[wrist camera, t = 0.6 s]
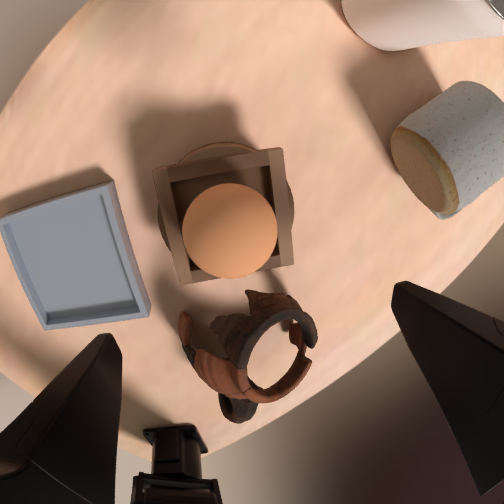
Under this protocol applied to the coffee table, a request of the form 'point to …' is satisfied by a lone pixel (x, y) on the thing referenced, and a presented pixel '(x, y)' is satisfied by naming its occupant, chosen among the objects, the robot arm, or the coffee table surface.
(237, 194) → the ball
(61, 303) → the tray
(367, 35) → the can
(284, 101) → the coffee table surface
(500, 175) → the ceramic mug
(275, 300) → the pottery mug
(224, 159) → the open wooden box
